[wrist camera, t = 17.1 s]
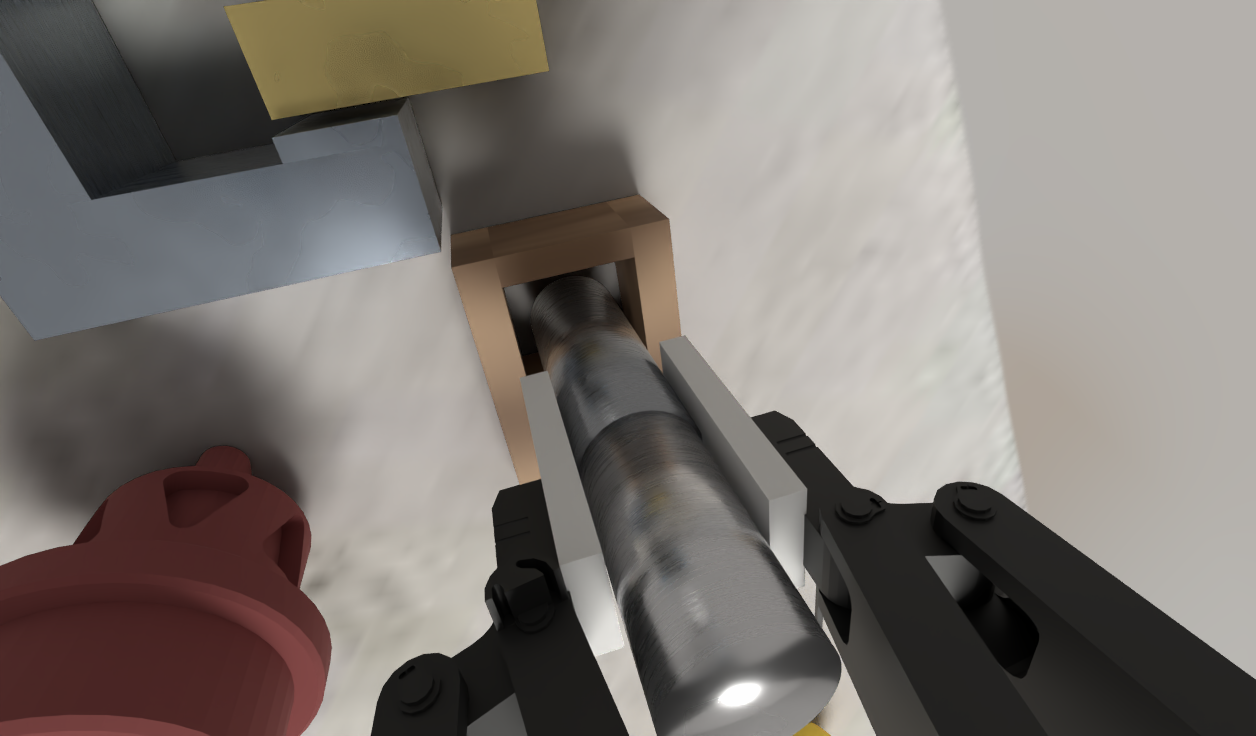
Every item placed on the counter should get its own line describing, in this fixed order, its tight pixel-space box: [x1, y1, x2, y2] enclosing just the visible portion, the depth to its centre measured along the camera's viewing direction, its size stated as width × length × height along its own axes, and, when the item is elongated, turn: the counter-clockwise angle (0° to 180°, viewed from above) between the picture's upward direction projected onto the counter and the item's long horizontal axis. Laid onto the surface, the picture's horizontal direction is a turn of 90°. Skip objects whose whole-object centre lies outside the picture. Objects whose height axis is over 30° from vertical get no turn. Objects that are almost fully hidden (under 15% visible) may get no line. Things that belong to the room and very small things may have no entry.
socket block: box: [0, 0, 442, 341], centre depth 15 cm, size 10×10×5 cm
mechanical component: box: [0, 446, 332, 736], centre depth 18 cm, size 12×10×10 cm
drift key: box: [224, 0, 549, 120], centre depth 16 cm, size 2×7×4 cm, turn 98°
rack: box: [451, 195, 681, 565], centre depth 21 cm, size 12×7×8 cm, turn 8°
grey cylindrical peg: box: [530, 276, 841, 736], centre depth 15 cm, size 3×3×15 cm
